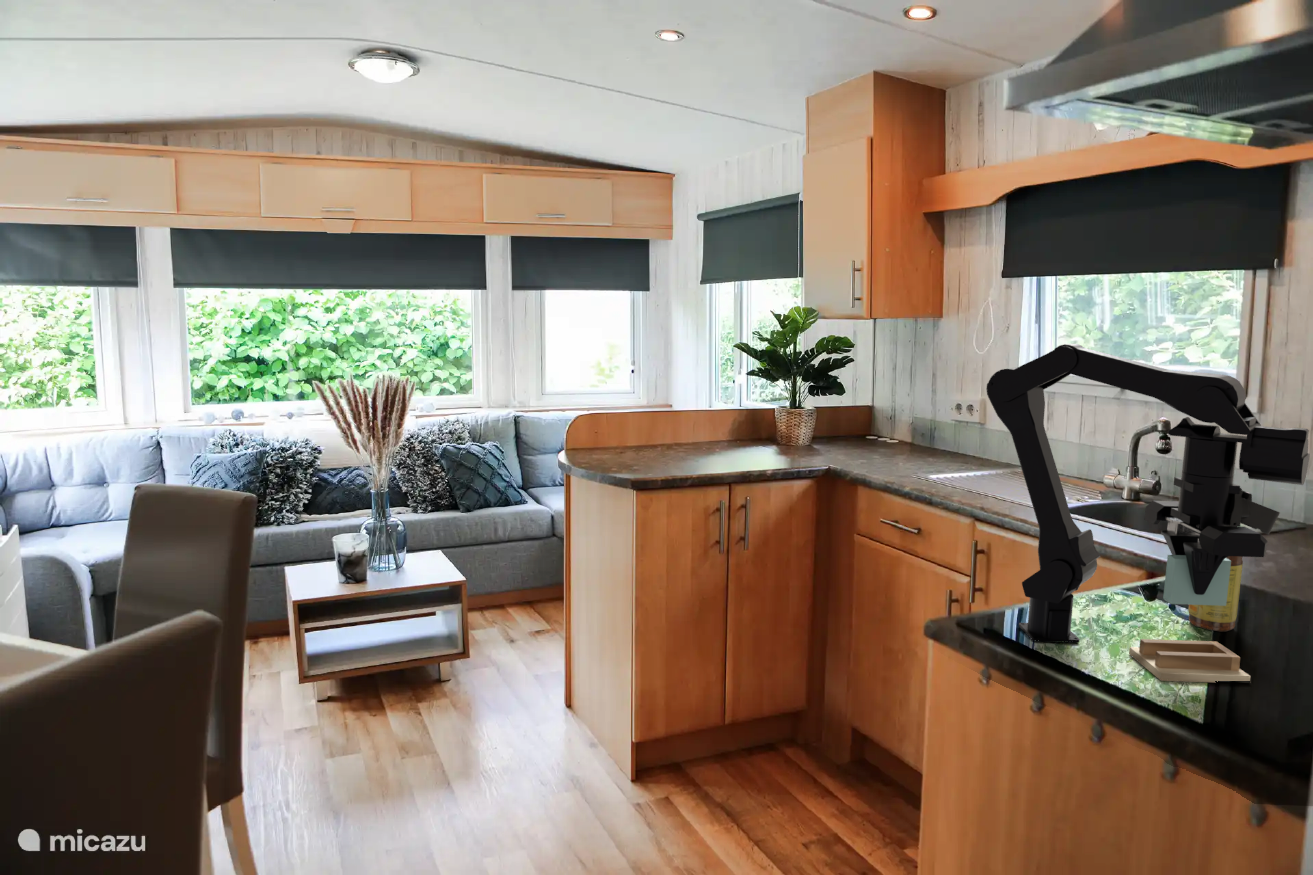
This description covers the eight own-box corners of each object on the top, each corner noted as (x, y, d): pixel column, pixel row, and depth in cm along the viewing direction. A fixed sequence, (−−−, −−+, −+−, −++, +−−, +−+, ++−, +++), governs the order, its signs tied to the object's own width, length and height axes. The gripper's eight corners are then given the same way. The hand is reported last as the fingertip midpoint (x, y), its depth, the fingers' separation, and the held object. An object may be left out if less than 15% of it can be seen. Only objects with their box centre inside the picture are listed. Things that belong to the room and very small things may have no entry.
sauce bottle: (1191, 616, 144) (1204, 489, 141) (1238, 625, 140) (1253, 495, 137) (1182, 627, 139) (1196, 496, 136) (1231, 637, 135) (1246, 502, 132)
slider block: (1163, 598, 123) (1167, 554, 122) (1217, 600, 123) (1222, 556, 122) (1170, 603, 121) (1175, 559, 120) (1226, 605, 121) (1231, 560, 120)
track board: (1128, 653, 128) (1130, 634, 127) (1211, 656, 127) (1213, 636, 127) (1161, 680, 119) (1163, 659, 119) (1249, 683, 119) (1252, 662, 118)
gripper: (1320, 490, 110) (1303, 618, 112) (1231, 462, 128) (1218, 572, 131) (1223, 487, 110) (1208, 614, 113) (1148, 460, 129) (1137, 569, 131)
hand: (1194, 591), depth 122 cm, fingers closed on slider block, 2 cm apart
